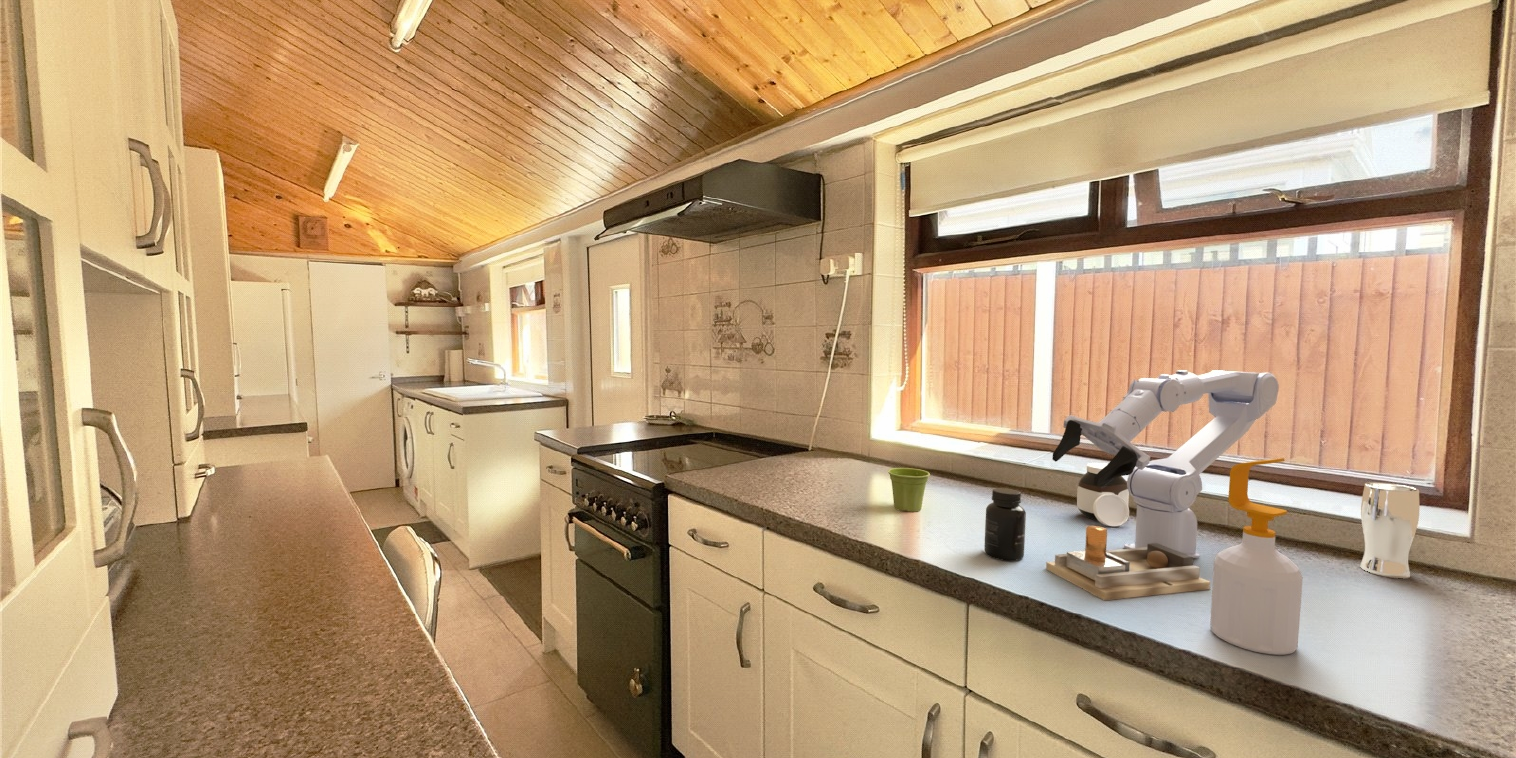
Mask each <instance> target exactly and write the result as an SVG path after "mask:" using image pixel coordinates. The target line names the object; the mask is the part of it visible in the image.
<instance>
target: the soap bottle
mask: <svg viewBox="0 0 1516 758" xmlns="http://www.w3.org/2000/svg"><path fill="white" fill-rule="evenodd" d="M1285 461H1286V460H1285V458H1283V457H1280V458H1273V459H1271V458H1270V459H1264V460H1263V459H1262V460H1254V461H1247V462H1243V463H1242V462H1240V463H1237V464H1235V465H1233V466H1232V467H1231V468H1230V471H1229V484H1228V485H1229V487H1228V504H1229V505H1230V506H1231V507H1232V508H1233V509H1235V510H1239V511H1242V512H1246V517H1247V518H1249V519H1251V525H1246V526H1243V528H1242V529H1243V531H1242V542H1241V543H1240V544H1237V545H1233V546H1230V547H1227V548H1225V549H1223V550H1221V551H1219V552H1217V554H1216V556H1215V558H1214V559H1213V573H1212V574H1213V575H1212V589H1211V605H1210V606H1211V607H1210V618H1209V619H1210V622H1209V626H1210V630H1211V632H1212V633H1213V634H1215V635H1216V637H1218V638H1220V639H1221V640H1223V641H1225V642H1227V643H1229V644H1231V645H1233V646H1236V647H1238V648H1241V649H1244V650H1247V651H1251V652H1254V653H1258V654H1259V653H1260V654H1266V655H1276V656H1281V655H1283V656H1284V655H1290V654H1293V653H1295V651H1296V650H1297V649H1298V647H1299V637H1300V636H1299V633H1300V620H1301V619H1300V617H1301V608H1302V607H1301V606H1302V605H1301V603H1302V594H1303V593H1302V591H1303V575H1302V572H1301V569H1300V568H1299V567H1298V565H1297V564H1296V563H1294V561H1292V560H1291V559H1290V558H1289V557H1287V556H1286V555H1284V554H1283V553H1281V552H1279V551H1278V550H1277V549H1276V531H1275V530H1272V529H1270V528H1268V527H1269V522H1272V521H1275V519H1274V518H1275V517H1276V518H1277V517H1280V516H1284V515H1287V514H1288V511H1287V509H1282V508H1277V507H1273V506H1267V505H1264V504H1258V503H1254V502H1252V501H1251V500H1250V499H1249V496H1248V490H1249V489H1248V488H1249V474H1250V471H1251V470H1250V469H1251V468H1252V467H1253V466H1257V465H1259V466H1261V465H1268V464H1275V463H1281V462H1282V463H1283V462H1285Z"/></svg>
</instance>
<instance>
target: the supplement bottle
mask: <svg viewBox="0 0 1516 758" xmlns="http://www.w3.org/2000/svg"><path fill="white" fill-rule="evenodd" d="M1021 493H1022V492H1020V491H1019V490H1016V489H1012V488H1004V487H1000V488H998V487H997V488H993V489H992V493H991V494H992V495H991V501H992V502H991V503H989V504H988V505H987V506H986V508H985V520H984V521H985V524H984V526H985V527H984V546H983V547H984V548H983V549H984V553H985V554H986V556H988V557H990V558H993V559H996V560H1000V561H1004V562H1005V561H1006V562H1007V561H1008V562H1017V561H1020V560H1022V559H1023V558H1024V556H1025V544H1026V543H1025V542H1026V540H1025V539H1026V520H1027V519H1026V518H1027V517H1026V516H1027V512H1026V510H1025V508H1024V507H1023V506H1022V505H1020V504H1021V503H1022V499H1021V498H1022V497H1021V496H1022V495H1021Z"/></svg>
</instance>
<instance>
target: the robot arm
mask: <svg viewBox="0 0 1516 758" xmlns="http://www.w3.org/2000/svg"><path fill="white" fill-rule="evenodd" d="M1279 390H1280V387H1279V381H1278V379H1277V378H1276V376H1275V375H1274V374H1273V373H1271V372H1261V373H1260V372H1249V371H1248V372H1247V371H1246V372H1245V371H1231V370H1230V371H1227V370H1226V371H1225V370H1211V371H1210V372H1207V373H1204V374H1199V375H1197V374H1195V373H1192V372H1189V370H1184V369H1183V370H1181V369H1179V370H1176V371H1175V374H1172V375H1171V374H1170V375H1169V374H1165V373H1164V374H1163V373H1162V374H1160V375H1158V377H1157V378H1148V377H1147V378H1146V377H1143V378H1142V377H1141V378H1139V379H1138V380H1135V379H1133V380H1132V382H1131V383H1130V384H1129V387H1128V391H1127V392H1126V394H1125V395H1124V396H1123V397H1122V398H1123V399H1122V400H1121V402H1119V403H1118V404H1117V405H1116V406H1115V407H1113V409H1112V410H1111V411H1110V412H1108V414H1106V416H1104V417H1103V418H1102V419H1101V420H1100V421H1099V422H1097V421H1092V420H1088V419H1084V418H1081V417H1078V416H1075V415H1072V414H1069V415H1068V416H1067V417H1065V419H1064V420H1063V426H1062V427H1063V428H1064V433H1063V435H1062V438H1061V440H1060V441H1059V444H1058V445H1057V447H1056V448H1055V449H1054V451H1053V452H1052V457H1051V458H1052V459H1051V460H1052V461H1054V462H1058V461H1059V460H1060V459H1062V457H1063V456H1064V455H1065V454H1067V453H1068V452H1069V451H1071V450H1072V449H1074V448H1076V447H1078V446H1080V443H1081V436H1084V437H1085V438H1086V439H1087V440H1088V441H1089V442H1091V443H1092V444H1093V445H1095V446H1096V447H1097V448H1098V449H1100V451H1103V452H1105V453H1107V454H1109V455H1113V458H1112V459H1111V460H1110V461H1109V462H1108V463H1106V464H1107V465H1106V466H1105V467H1104V468H1103V469H1102V470H1101V471H1099V472H1098V474H1097V475H1096V476H1095V477H1094V483H1093V484H1094V485H1096V486H1098V485H1100V484H1102V483H1104V482H1106V481H1108V480H1110V479H1113V478H1116V477H1119V476H1122V477H1123V476H1127V479H1126V482H1127V487H1128V491H1129V496H1131V497H1132V498H1133V503H1136V519H1135V522H1136V523H1135V525H1136V526H1135V540H1134V542H1135V543H1124V544H1123V548H1124V549H1130V548H1141V547H1147V545H1148V544H1151V543H1158V544H1160V545H1163V546H1166V547H1168V548H1171V549H1174V550H1176V551H1179V552H1181V553H1184V554H1187V555H1189V556H1192V557H1193V559H1198V558H1200V557H1201V555H1200V554H1199V553H1197V538H1198V537H1197V536H1198V519H1197V517H1196V514H1195V513H1194V511H1193V510H1192V509H1190V508H1191V506H1192V505H1193V504H1194V503H1195V502H1196V499H1197V496H1198V494H1200V493H1201V492H1202V490H1203V482H1202V478H1201V475H1200V474H1202V473H1203V472H1204V471H1205V470H1206V469H1207V468H1208V467H1209V466H1211V465H1212V464H1213V463H1214V462H1215V461H1216V460H1217V459H1218V458H1219V457H1221V456H1222V455H1223V454H1224V453H1225V452H1226V451H1228V450H1229V449H1231V447H1232V446H1233V445H1234V444H1235V443H1237V442H1238V441H1239V440H1240V439H1241V438H1242V437H1243V436H1245V435H1246V433H1248V431H1249V430H1250V429H1251V427H1252V426H1253V425H1254V423H1256V422H1255V421H1256V420H1259V419H1260V418H1261V417H1262V416H1264V415H1265V414H1266V413H1267V412H1268V411H1270V409H1272V408H1273V407H1274V406H1275V405H1276V403H1277V400H1278V394H1279ZM1205 394H1207V396H1208V412H1209V414H1210V415H1212V416H1213V417H1214V418H1213V419H1212V420H1211V421H1209V422H1208V423H1207V424H1206V425H1205V426H1204V427H1202V428H1201V429H1200V430H1199V431H1198V432H1196V433H1195V434H1194V435H1193V436H1192V437H1191V438H1189V439H1188V440H1187V441H1186V442H1185V443H1184V444H1182V445H1181V446H1180V447H1178V448H1177V450H1175V451H1174V452H1173V453H1172V454H1170V455H1169V456H1168V457H1166V458H1159V459H1153V460H1151V455H1149V454H1147V453H1145V452H1144V451H1143V450H1141V449H1140V448H1139V447H1137V446H1136V445H1135V444H1133V442H1132V441H1133V440H1134V439H1135V438H1136V437H1137V436H1138V435H1139V434H1140V433H1141V432H1142V431H1143V430H1144V429H1145V428H1146V427H1148V425H1149V424H1151V423H1152V422H1153V421H1154V420H1155V419H1156V418H1157V417H1158V416H1159V415H1160V414H1161V413H1162V412H1171V413H1175V411H1177V410H1178V408H1179V407H1180V406H1183V405H1188V404H1192V403H1196V402H1198V401H1199V400H1200V399H1202V397H1203V396H1204V395H1205Z"/></svg>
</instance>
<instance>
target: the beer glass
mask: <svg viewBox="0 0 1516 758" xmlns="http://www.w3.org/2000/svg"><path fill="white" fill-rule="evenodd" d="M1360 504H1361V506H1360V519H1361V526H1362V532H1363V539H1364V552H1363V556H1362V560H1361V562H1360V566H1359V567H1361V568H1362V569H1361V568H1360V569H1361V570H1362V571H1364V570H1365V572H1367V571H1368V572H1367V573H1369V572H1370V574H1372V575H1376V576H1380V577H1385V578H1389V579H1390V578H1392V579H1398V578H1403V579H1404V580H1405V579H1410V577H1411V571H1410V566H1409V555H1410V554H1409V553H1410V549H1411V546H1412V543H1413V541H1414V538H1415V535H1416V533H1417V532H1416V531H1417V529H1418V528H1417V527H1418V525H1419V521H1420V520H1419V519H1420V508H1421V507H1420V490H1419V489H1418V488H1416V487H1413V486H1407V485H1402V484H1396V483H1391V482H1390V483H1388V482H1379V481H1377V482H1375V481H1370V482H1365V483H1364V487H1363V492H1362V498H1361V503H1360Z"/></svg>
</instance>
